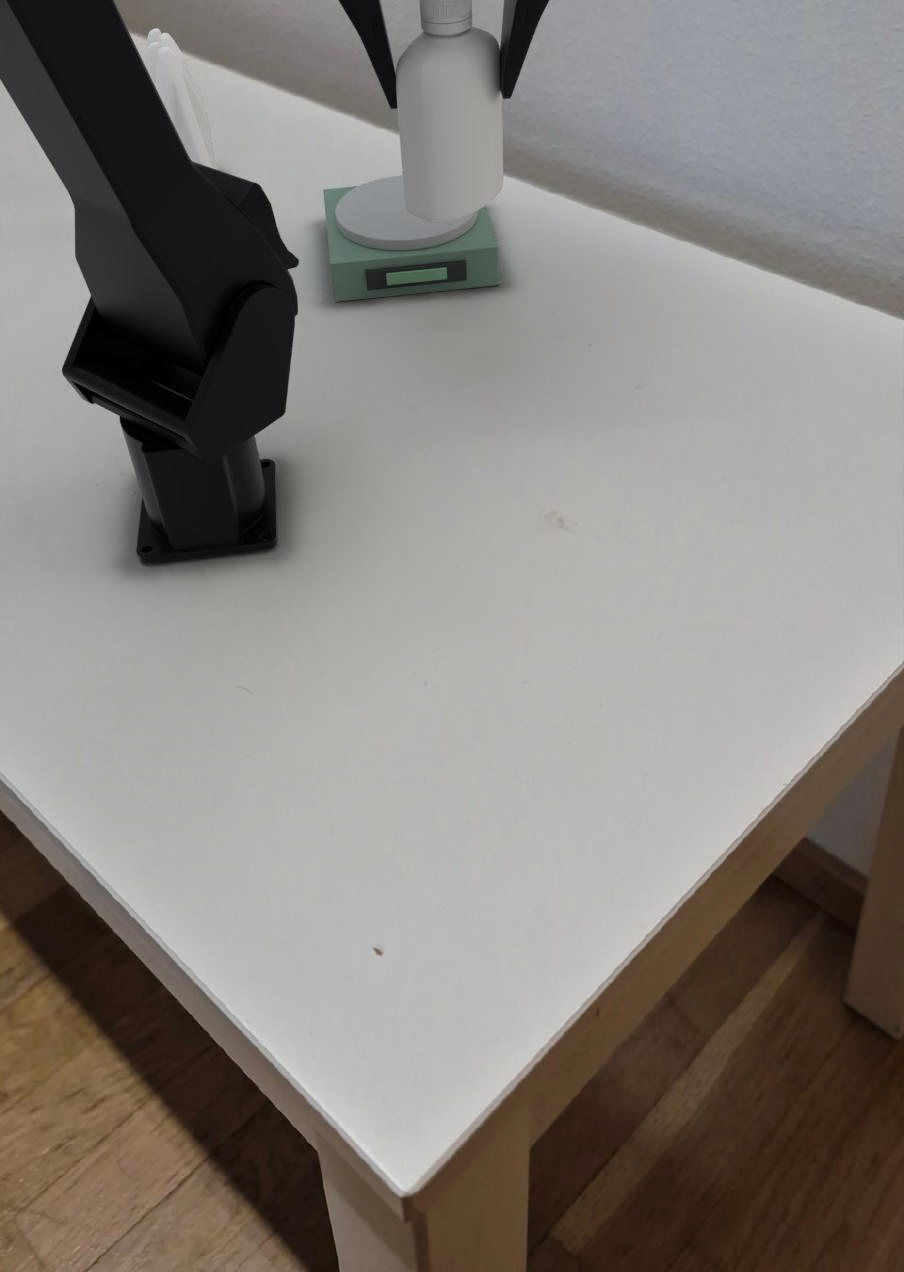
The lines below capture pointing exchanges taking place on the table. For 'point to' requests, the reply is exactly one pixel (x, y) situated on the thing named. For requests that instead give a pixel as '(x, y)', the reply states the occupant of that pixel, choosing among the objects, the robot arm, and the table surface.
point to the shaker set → (180, 96)
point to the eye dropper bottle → (450, 114)
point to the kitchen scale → (403, 245)
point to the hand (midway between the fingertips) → (450, 100)
